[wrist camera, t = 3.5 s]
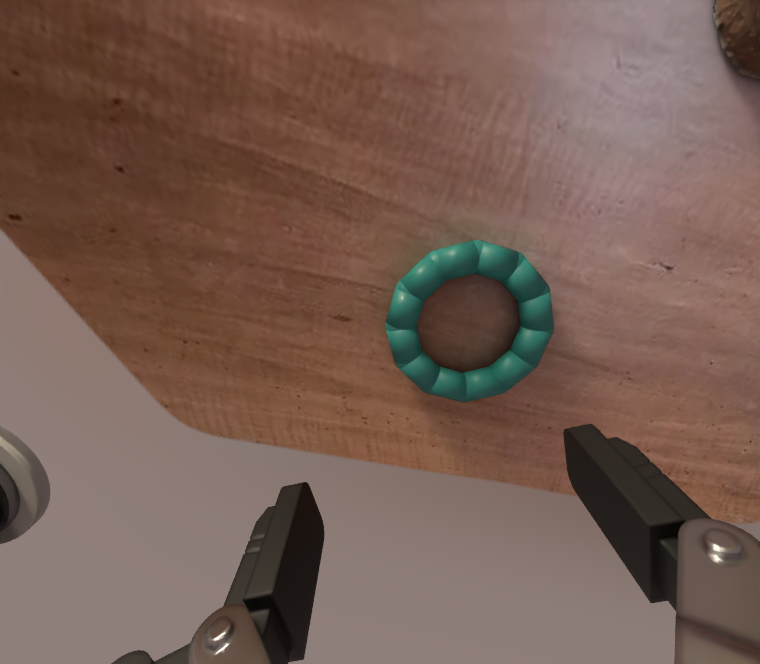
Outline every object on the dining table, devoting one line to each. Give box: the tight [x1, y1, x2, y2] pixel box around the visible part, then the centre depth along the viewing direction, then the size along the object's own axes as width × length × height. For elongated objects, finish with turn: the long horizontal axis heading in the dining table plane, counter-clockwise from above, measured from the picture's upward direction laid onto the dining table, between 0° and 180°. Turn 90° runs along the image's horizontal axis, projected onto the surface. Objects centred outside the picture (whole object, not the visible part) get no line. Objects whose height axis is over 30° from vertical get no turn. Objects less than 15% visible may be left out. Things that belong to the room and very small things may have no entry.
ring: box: [385, 240, 554, 402], centre depth 22 cm, size 10×10×2 cm
